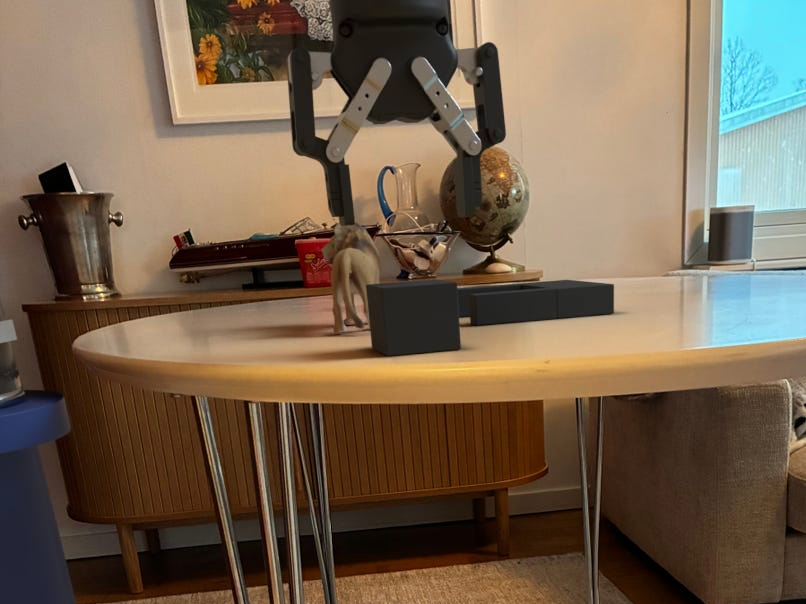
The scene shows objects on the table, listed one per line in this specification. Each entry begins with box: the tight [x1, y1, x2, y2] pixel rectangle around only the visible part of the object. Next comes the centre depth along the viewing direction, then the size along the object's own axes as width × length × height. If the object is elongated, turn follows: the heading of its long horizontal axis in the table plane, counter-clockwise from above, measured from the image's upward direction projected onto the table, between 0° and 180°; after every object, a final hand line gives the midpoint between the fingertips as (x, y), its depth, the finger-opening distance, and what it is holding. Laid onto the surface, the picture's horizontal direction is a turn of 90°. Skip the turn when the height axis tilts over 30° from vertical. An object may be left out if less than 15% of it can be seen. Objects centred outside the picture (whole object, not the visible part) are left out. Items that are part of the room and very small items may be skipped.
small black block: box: [366, 279, 462, 357], centre depth 69 cm, size 5×5×4 cm
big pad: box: [457, 279, 615, 326], centre depth 89 cm, size 13×11×2 cm
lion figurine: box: [320, 221, 382, 334], centre depth 86 cm, size 15×5×9 cm, turn 10°
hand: (407, 221), depth 67 cm, fingers open, 8 cm apart
